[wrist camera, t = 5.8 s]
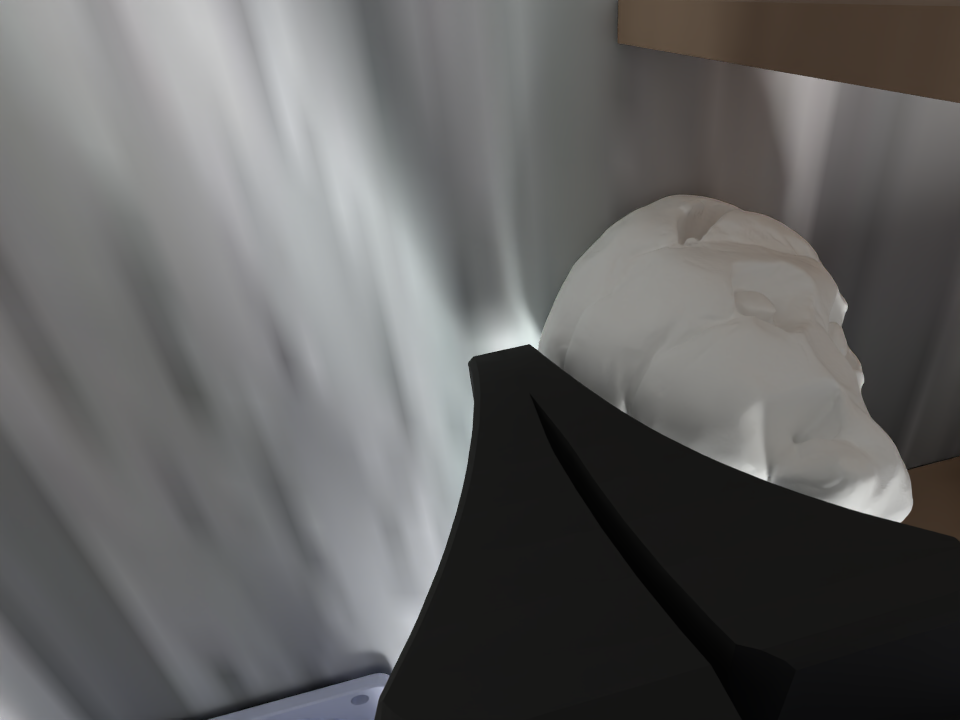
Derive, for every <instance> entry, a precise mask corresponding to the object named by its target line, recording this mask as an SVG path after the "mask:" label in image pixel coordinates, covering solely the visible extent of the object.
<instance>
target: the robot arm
mask: <svg viewBox="0 0 960 720" xmlns="http://www.w3.org/2000/svg"><path fill="white" fill-rule="evenodd" d="M468 366H469V372H470V378H471V385H472V391H473V397H474V414H473V430H472V438H471V445H470V451H469V458H468V464H467V470H466V475H465V480H464V484H463V489H462V493H461V497H460V501H459V504H458V508H457V512H456V516H455V519H454V522H453V525H452V529H451V532H450V535H449V538H448V541H447V545H446V548H445V551H444V553H443V556H442V559H441V562H440V565H439V567H438V570H437V572H436V575H435V577H434V580H433V582H432V585H431V587H430V590H429V592H428V595H427V597H426V599H425V602H424V604H423V607H422V609H421V612H420V614H419V617H418V619H417V621H416V623H415V626H414V628H413V630H412V632H411V634H410V636H409V638H408V640H407V642H406V644H405V646H404V648H403V650H402V652H401V654H400V656H399V658H398V661H397V663H396V665H395V667H394V669H393V671H392V673H391V675H387V674H385V673H376V674H371V675H367V676H364V677H360V678H356V679H353V680H349V681H346V682H342V683H338V684H335V685H331V686H327V687H324V688H320V689H317V690H313V691H309V692H306V693H302V694H298V695H295V696H291V697H288V698H284V699H280V700H277V701H273V702H269V703H266V704H262V705H259V706H255V707H251V708H248V709H244V710H241V711H237V712H233V713H230V714H226V715H222V716H219V717H215V718H212V719H208V720H960V541H959V540H958V539H956V538H955V537H953V536H949V535H945V534H941V533H937V532H934V531H930V530H926V529H922V528H918V527H915V526H911V525H907V524H903V523H899V522H896V521H892V520H888V519H884V518H880V517H877V516H873V515H869V514H865V513H861V512H858V511H855V510H851V509H848V508H845V507H842V506H839V505H835V504H832V503H829V502H826V501H823V500H820V499H817V498H814V497H811V496H808V495H804V494H801V493H798V492H796V491H793V490H790V489H787V488H784V487H782V486H779V485H776V484H773V483H770V482H768V481H765V480H763V479H760V478H758V477H755V476H753V475H750V474H748V473H745V472H743V471H740V470H738V469H735V468H733V467H730V466H728V465H725V464H723V463H721V462H719V461H716V460H714V459H712V458H710V457H707V456H705V455H703V454H701V453H699V452H697V451H695V450H693V449H691V448H689V447H687V446H684V445H682V444H680V443H678V442H676V441H674V440H672V439H670V438H668V437H666V436H664V435H663V434H661V433H659V432H657V431H655V430H653V429H651V428H650V427H648V426H646V425H644V424H643V423H641V422H639V421H638V420H636V419H634V418H633V417H631V416H629V415H628V414H626V413H624V412H623V411H621V410H620V409H618V408H616V407H615V406H613V405H612V404H610V403H609V402H607V401H606V400H604V399H603V398H601V397H600V396H599V395H597V394H596V393H594V392H593V391H591V390H590V389H588V388H587V387H585V386H584V385H583V384H581V383H580V382H579V381H577V380H576V379H574V378H573V377H572V376H570V375H569V374H568V373H566V372H565V371H564V370H562V369H561V368H560V367H559V366H557V365H556V364H555V363H553V362H552V361H551V360H549V359H548V358H547V357H546V356H544V355H543V354H542V353H540V352H539V351H538V350H537V349H535V348H534V347H532V346H531V345H529V344H528V345H524V346H519V347H515V348H510V349H506V350H501V351H497V352H492V353H488V354H483V355H478V356H474V357H473V358H472V359H471V360H470V361H469V363H468Z"/></svg>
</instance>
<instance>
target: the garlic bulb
mask: <svg viewBox="0 0 960 720" xmlns="http://www.w3.org/2000/svg"><path fill="white" fill-rule="evenodd" d="M847 308H848V304H847V302H846V300H845V299H844V297H843V296H842V295H841V294H840V293H839V289H838V286H837V284H836V283H835V281H834V279H833V278H832V276H831V275H830V274H829V272H828V271H827V270H826V269H825V267H824V266H823V265H822V262H821V261H820V260H819V258H818V255H817V253H816V252H815V250H814V249H813V248H812V246H811V245H810V244H809V243H808V242H807V241H806V240H805V239H804V238H803V237H801V236H800V235H799V234H798V233H796V232H795V231H794V230H792V229H790V228H789V227H787V226H786V225H784V224H783V223H782V222H780V221H777V220H775V219H773V218H771V217H769V216H767V215H763V214H760V213H756V212H750V211H743V210H742V209H740V208H738V207H736V206H734V205H732V204H729V203H726V202H723V201H720V200H717V199H713V198H709V197H704V196H696V195H671V196H667V197H664V198H661V199H659V200H657V201H655V202H653V203H651V204H649V205H647V206H645V207H642V208H639V209H637V210H635V211H633V212H631V213H630V214H628V215H626V216H625V217H623V218H622V219H620V220H619V221H617V222H616V223H615V224H613V225H612V226H611V227H609V228H608V229H607V230H606V231H605V232H604V233H603V235H602V236H601V237H600V238H599V239H598V240H597V241H596V242H595V243H594V244H593V245H592V246H591V247H590V248H589V249H588V250H587V251H586V252H585V253H584V254H583V255H582V256H581V257H580V259H579V260H578V261H577V262H576V263H575V264H574V265H573V267H572V269H571V270H570V272H569V274H568V276H567V278H566V280H565V281H564V283H563V284H562V286H561V289H560V291H559V293H558V295H557V297H556V299H555V301H554V304H553V306H552V308H551V311H550V313H549V316H548V318H547V320H546V323H545V325H544V328H543V331H542V334H541V337H540V341H539V346H538V351H539V352H540V353H542V354H543V355H544V356H546V357H547V358H548V359H549V360H551V361H552V362H553V363H555V364H556V365H557V366H559V367H560V368H561V369H562V370H564V371H565V372H566V373H568V374H569V375H570V376H572V377H573V378H574V379H576V380H577V381H579V382H580V383H581V384H583V385H584V386H585V387H587V388H588V389H590V390H591V391H593V392H594V393H596V394H597V395H599V396H600V397H601V398H603V399H604V400H606V401H607V402H609V403H610V404H612V405H613V406H615V407H616V408H618V409H620V410H621V411H623V412H624V413H626V414H628V415H629V416H631V417H633V418H634V419H636V420H638V421H639V422H641V423H643V424H644V425H646V426H648V427H650V428H651V429H653V430H655V431H657V432H659V433H661V434H663V435H664V436H666V437H668V438H670V439H672V440H674V441H676V442H678V443H680V444H682V445H684V446H687V447H689V448H691V449H693V450H695V451H697V452H699V453H701V454H703V455H705V456H707V457H710V458H712V459H714V460H716V461H719V462H721V463H723V464H725V465H728V466H730V467H733V468H735V469H738V470H740V471H743V472H745V473H748V474H750V475H753V476H755V477H758V478H760V479H763V480H765V481H768V482H770V483H773V484H776V485H779V486H782V487H784V488H787V489H790V490H793V491H796V492H798V493H801V494H804V495H808V496H811V497H814V498H817V499H820V500H823V501H826V502H829V503H832V504H835V505H839V506H842V507H845V508H848V509H851V510H855V511H858V512H861V513H865V514H869V515H873V516H877V517H880V518H884V519H888V520H892V521H896V522H899V523H900V522H902V521H903V520H904V519H905V518H906V517H907V516H908V515H909V513H910V511H911V510H912V506H913V498H912V488H911V481H910V476H909V473H908V471H907V469H906V466H905V464H904V462H903V460H902V459H901V456H900V453H899V451H898V449H897V447H896V446H895V444H894V442H893V441H892V439H891V438H890V437H889V436H888V434H887V433H886V432H885V431H884V430H883V429H882V428H881V427H880V426H879V425H878V424H877V423H876V422H875V421H874V420H873V419H872V418H871V416H870V414H869V412H868V410H867V408H866V406H865V403H864V401H863V398H862V395H861V387H862V385H863V384H864V375H863V373H862V366H861V363H860V361H859V360H858V358H857V357H856V355H855V354H854V353H853V352H852V351H851V350H850V348H849V347H848V345H847V341H846V338H845V335H844V332H843V329H842V323H843V320H844V316H845V313H846V311H847Z"/></svg>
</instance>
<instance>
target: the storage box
mask: <svg viewBox="0 0 960 720" xmlns="http://www.w3.org/2000/svg"><path fill="white" fill-rule="evenodd" d="M618 43H620V44H626V45H631V46H637V47H643V48H648V49H654V50H660V51H666V52H671V53H677V54H683V55H688V56H694V57H700V58H706V59H711V60H717V61H723V62H728V63H734V64H740V65H745V66H751V67H757V68H763V69H768V70H774V71H780V72H785V73H791V74H797V75H803V76H808V77H814V78H820V79H825V80H831V81H837V82H843V83H848V84H854V85H860V86H865V87H871V88H877V89H882V90H888V91H894V92H900V93H905V94H911V95H917V96H922V97H928V98H934V99H940V100H945V101H951V102H957V103H960V0H618ZM907 471H908V473H909V476H910V481H911V488H912V498H913V506H912V510H911V511H910V513H909V515H908V516H907V517H906V518H905V519H904V520H903V521H902V522H900V523H903V524H907V525H911V526H915V527H918V528H922V529H926V530H930V531H934V532H937V533H941V534H945V535H949V536H953V537H955V538H956V539H958V540H959V541H960V456H959V457H955V458H951V459H948V460H944V461H940V462H936V463H933V464H929V465H925V466H921V467H917V468H914V469H910V470H907Z"/></svg>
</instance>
